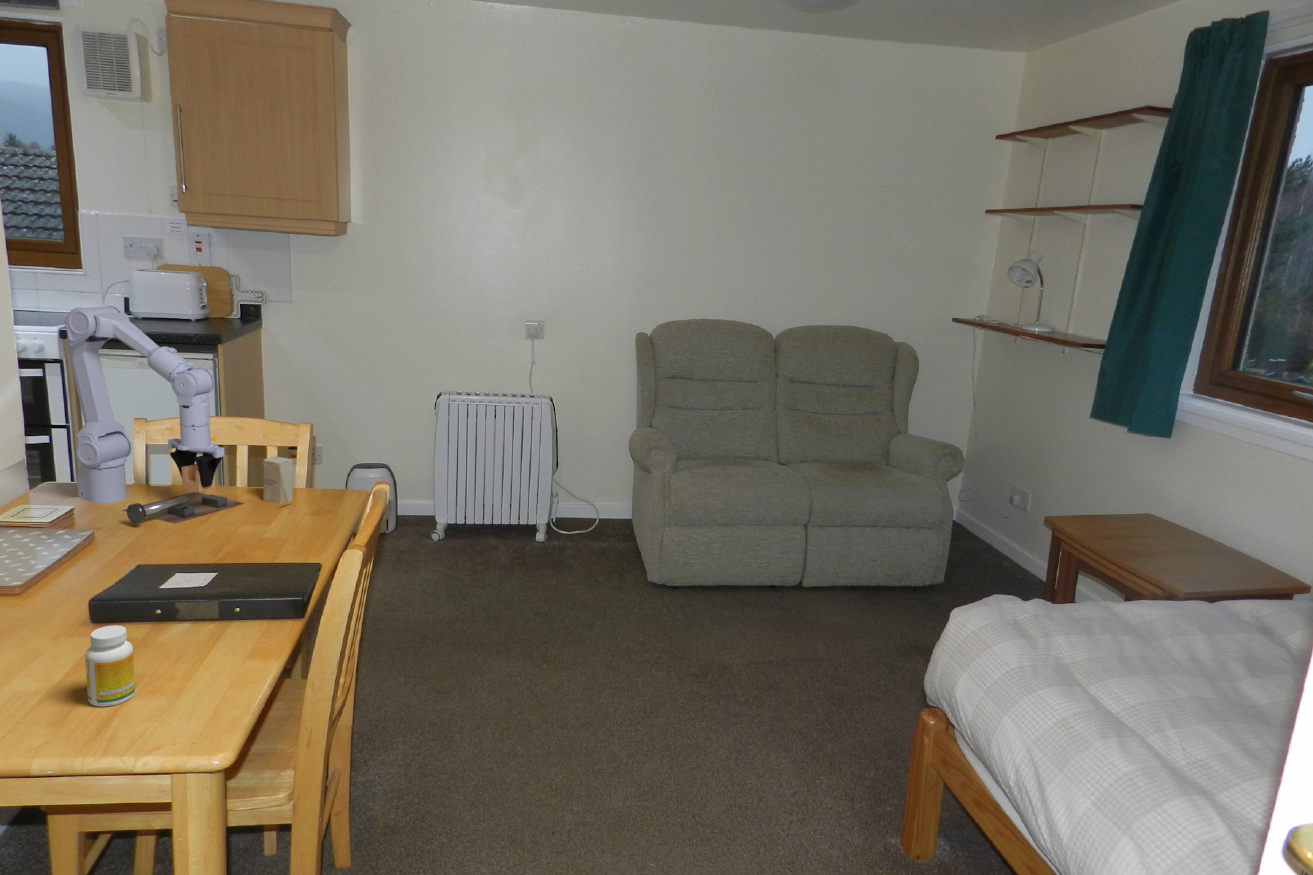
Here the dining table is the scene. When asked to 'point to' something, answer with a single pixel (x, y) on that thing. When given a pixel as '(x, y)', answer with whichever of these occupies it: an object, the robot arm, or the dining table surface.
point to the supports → (207, 500)
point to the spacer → (192, 478)
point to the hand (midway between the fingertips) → (197, 484)
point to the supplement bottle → (110, 667)
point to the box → (278, 480)
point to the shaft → (152, 508)
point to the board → (194, 501)
